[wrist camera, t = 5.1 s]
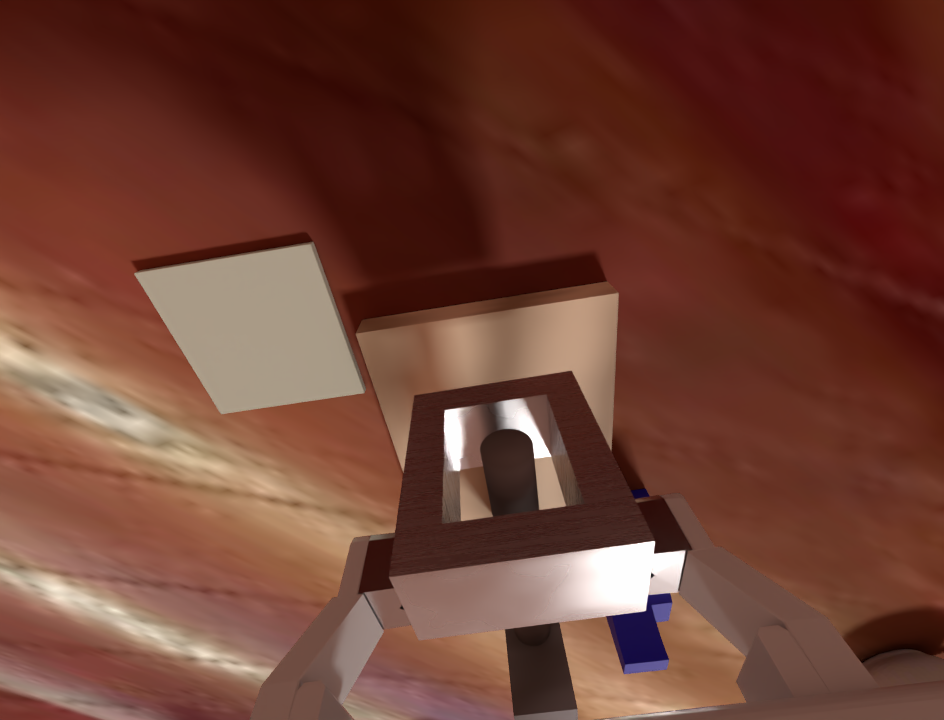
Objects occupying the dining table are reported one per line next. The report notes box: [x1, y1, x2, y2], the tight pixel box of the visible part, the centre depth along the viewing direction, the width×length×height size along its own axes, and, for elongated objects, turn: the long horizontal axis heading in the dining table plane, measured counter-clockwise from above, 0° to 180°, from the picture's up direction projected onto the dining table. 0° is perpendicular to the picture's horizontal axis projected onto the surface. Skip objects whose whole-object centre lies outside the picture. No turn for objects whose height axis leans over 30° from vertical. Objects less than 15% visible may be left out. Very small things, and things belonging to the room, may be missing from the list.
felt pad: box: [134, 242, 366, 414], centre depth 19 cm, size 8×8×1 cm
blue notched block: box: [606, 489, 672, 674], centre depth 27 cm, size 12×4×6 cm, turn 9°
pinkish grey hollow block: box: [389, 371, 655, 640], centre depth 13 cm, size 6×3×7 cm, turn 99°
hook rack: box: [356, 282, 619, 720], centre depth 18 cm, size 12×16×12 cm
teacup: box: [862, 649, 944, 687], centre depth 39 cm, size 14×11×8 cm
